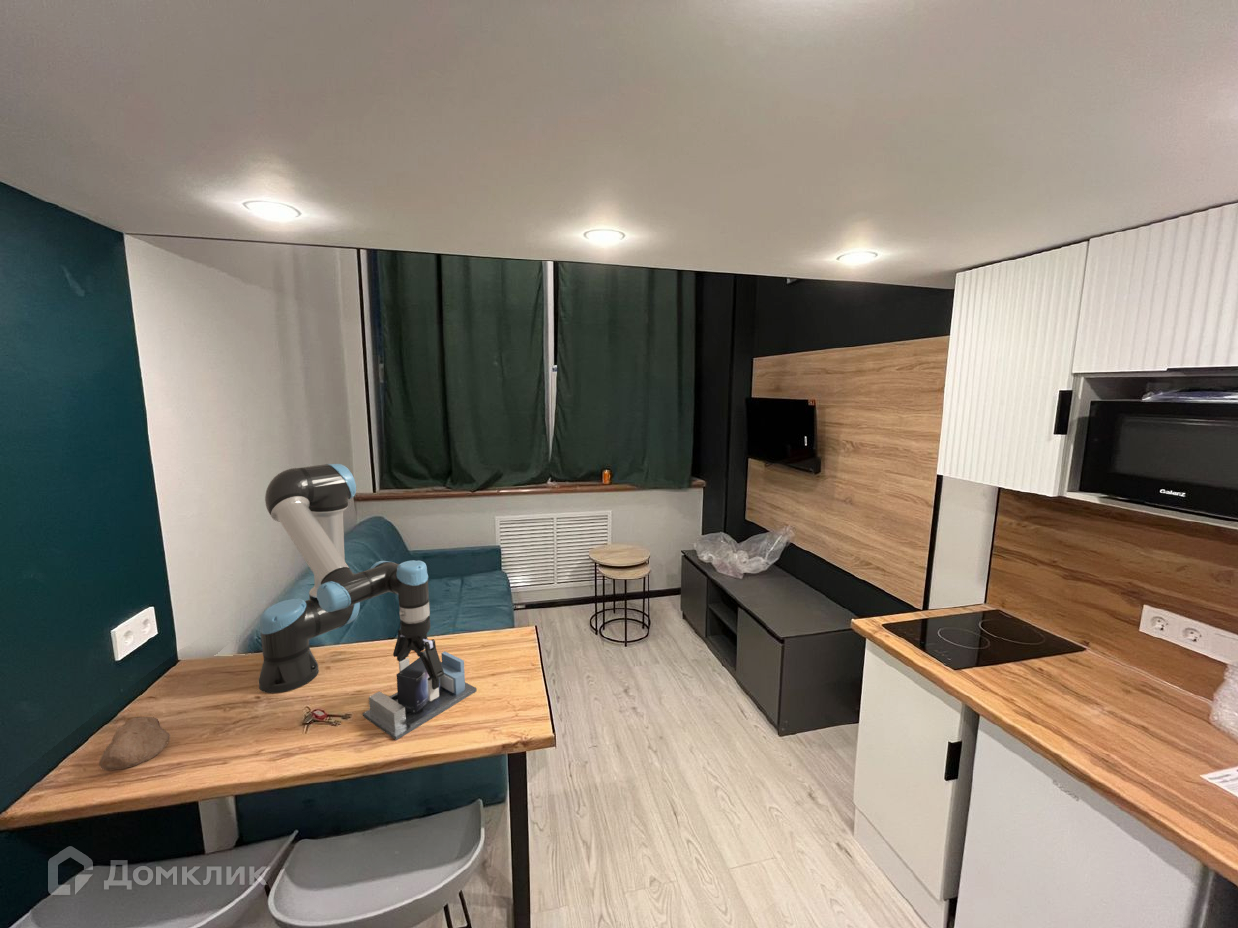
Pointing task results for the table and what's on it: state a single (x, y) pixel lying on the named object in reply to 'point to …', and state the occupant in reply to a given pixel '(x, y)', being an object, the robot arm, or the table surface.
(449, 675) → the sliding jaw
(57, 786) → the table surface
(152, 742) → the stone
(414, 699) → the small box
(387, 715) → the vise
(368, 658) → the table surface
